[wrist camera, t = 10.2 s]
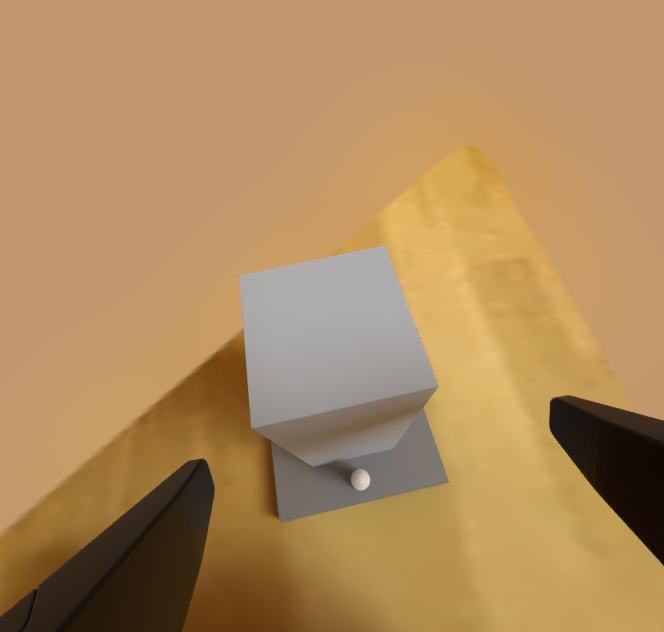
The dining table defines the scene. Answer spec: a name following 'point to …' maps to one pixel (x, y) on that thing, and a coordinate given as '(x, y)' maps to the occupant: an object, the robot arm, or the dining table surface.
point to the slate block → (333, 356)
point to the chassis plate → (357, 475)
